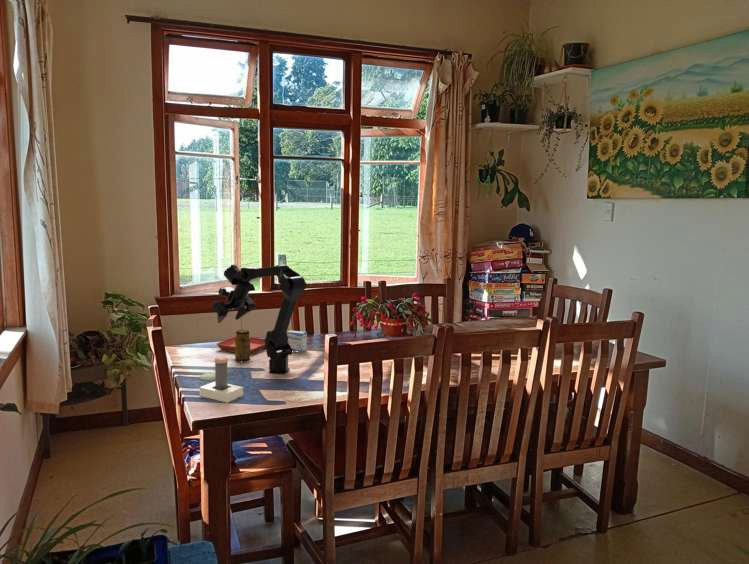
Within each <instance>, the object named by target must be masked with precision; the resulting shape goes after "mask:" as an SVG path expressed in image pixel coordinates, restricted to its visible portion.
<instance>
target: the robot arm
mask: <svg viewBox="0 0 749 564" xmlns="http://www.w3.org/2000/svg"><path fill="white" fill-rule="evenodd" d="M223 276H224V277H225V278H226V280H227V281H228V282H229V283H230V284H231V285H232V286H235V287H234V288H233V287H231V286H226V287H220V288H219V289H218V295H219V296H220V297H224V298H225V301H226V302H228V303H226V304H225V302H224V301H223V300H220V301H214V302H213V303H212V304H211V307H212V309H213V310H214V312H216V314H217V323H218V324H221V323H222V322H223V320H224V319H225V318H226V317H227V316H228V314H229V311H230V310H237V309H238V310H237V312H236V315H235V317H234V318H235V320H236V321H238V320H240V318H242V317H245V315H247V314H249V313H250V312H252V311H254V310H255V309H256V307H257V303H255V301H254V300H253V299H252V297H251V296H249V293H250V292H252V291H253V292H254V291H256V288H255V286H254V285H255V284H254V283H252V282H256V281H259V280H261V279H263V278H265V277H273V276H276V277H277V280H278V281H277V282H278V283H279V285H280V286H281V293H282V296H283V299H282V301H281V304H280V305H281V306H280V309H279V312H278V313H277V314H278V315H277V318H276V321H275V324H274V328H273V329H272V330H269V331H268V330H267V332H266V335H265V338H263V339H264V340H266V341H265V348H264V349H265V352H266V356H267V357H268V358H269V360H268V369H269V371H268V373H269V374H270V373H271V374H280V375H281V374H284V375H285V374H287V372H288V371H290V367H289V356H292V353H293V352H292V351H293V350H292V348H291V347H290V345H289V344H288V336H287V332H288V329H289V325H290V322H291V320H292V319H291V318H292V316H293V314H294V313H293V312H294V310H295V307H296V303H297V302H298V301H297V300H299V299H300V297H301V296H302V295H303V294H304V291H305V290H306V288H307V282H306V280H305V279H304V277H303V276H301V275H300V274H299V272H297V271H295V270H293V269H292V268H290V266H289V265H287V264H284V263H283V264H277V265H273V266H266V267H260V266H247V267H246V266H244V267H241V268H239V267H238V266H237V264H234V263H233V264H231V265H230V266H229V267H227V268H226V269H225V270H223Z"/></svg>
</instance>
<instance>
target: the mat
mask: <svg viewBox="0 0 749 564" xmlns="http://www.w3.org/2000/svg"><path fill="white" fill-rule="evenodd" d="M199 380H201V381H207V382H209V381H210V382H214V381H215V372H207V373H203V374H200V375H199Z"/></svg>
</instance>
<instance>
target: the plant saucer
mask: <svg viewBox="0 0 749 564" xmlns="http://www.w3.org/2000/svg"><path fill="white" fill-rule="evenodd" d="M249 337H250V355H251V354H254V353H255V352H258V351H261V350H263V349H266V348H265V341H266V340H264V339H265V338H262V337H255V336H254V337H253V336H249ZM235 338H236V335H234V336H232V337H229V338H227V339H225V340H222V341H220V342H216V345H217V347H218V348H219V349H220V350H222V351H225V350H226V352H232V353H235ZM262 348H263V349H262ZM260 349H261V350H260Z"/></svg>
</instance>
